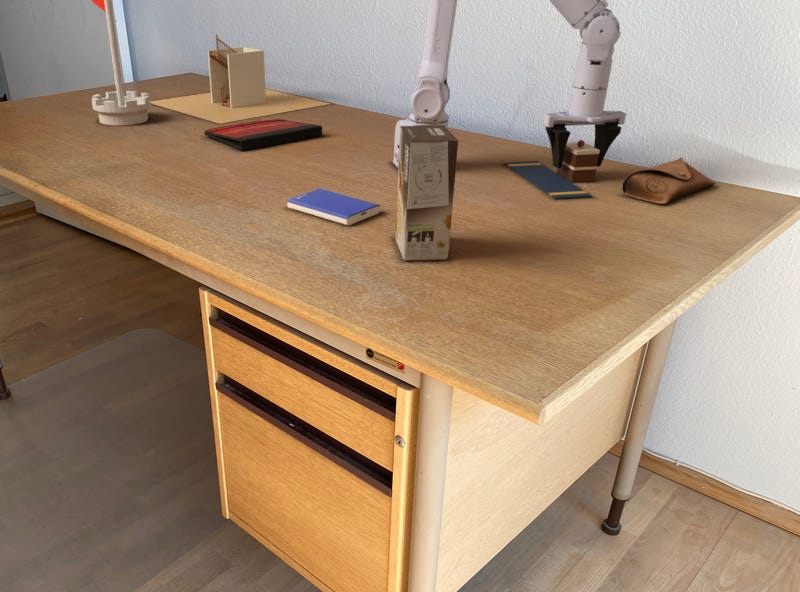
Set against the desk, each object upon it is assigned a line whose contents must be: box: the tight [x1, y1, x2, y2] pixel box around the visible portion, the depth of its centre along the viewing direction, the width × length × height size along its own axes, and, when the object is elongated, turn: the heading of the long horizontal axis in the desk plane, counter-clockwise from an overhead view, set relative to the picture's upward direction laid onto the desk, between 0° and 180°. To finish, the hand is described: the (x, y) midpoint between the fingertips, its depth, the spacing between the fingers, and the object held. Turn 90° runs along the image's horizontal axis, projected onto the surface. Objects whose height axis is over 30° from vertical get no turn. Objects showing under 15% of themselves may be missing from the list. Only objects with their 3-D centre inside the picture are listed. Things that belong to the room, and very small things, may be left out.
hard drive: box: [287, 188, 381, 226], centre depth 117 cm, size 2×8×12 cm
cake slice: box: [556, 139, 600, 184], centre depth 133 cm, size 4×6×7 cm
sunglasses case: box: [621, 156, 716, 205], centre depth 128 cm, size 18×7×7 cm
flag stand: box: [91, 0, 152, 126], centre depth 165 cm, size 13×13×30 cm
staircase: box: [207, 34, 267, 109], centre depth 187 cm, size 9×11×17 cm
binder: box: [203, 118, 323, 152], centre depth 160 cm, size 16×2×21 cm
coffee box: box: [394, 125, 459, 262], centre depth 100 cm, size 9×6×16 cm
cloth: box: [504, 160, 592, 200], centre depth 134 cm, size 6×22×1 cm, turn 11°
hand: (576, 165), depth 134 cm, fingers open, 7 cm apart
